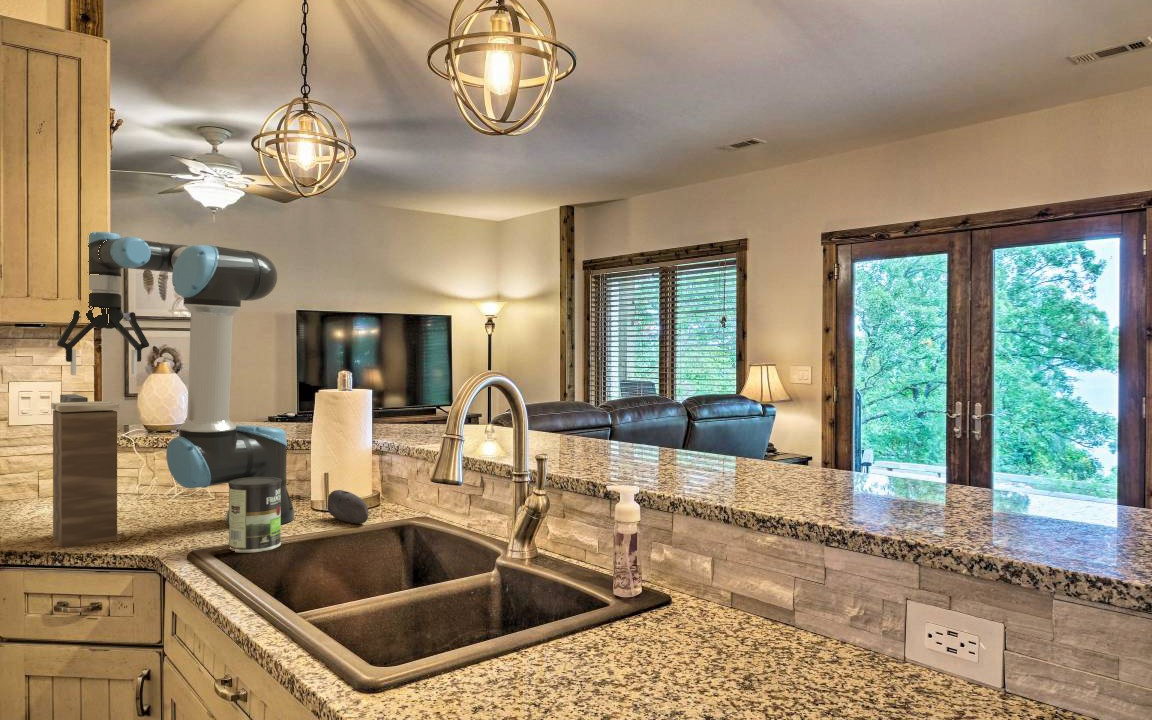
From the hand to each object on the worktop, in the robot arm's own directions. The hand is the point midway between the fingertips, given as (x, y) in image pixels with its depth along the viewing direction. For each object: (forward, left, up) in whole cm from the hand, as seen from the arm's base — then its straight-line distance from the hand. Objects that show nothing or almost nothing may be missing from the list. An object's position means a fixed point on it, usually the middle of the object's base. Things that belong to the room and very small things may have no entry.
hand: (104, 374), depth 196 cm
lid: (-22, +16, -6) cm, 28 cm away
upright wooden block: (-30, +18, -35) cm, 49 cm away
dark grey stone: (-64, -26, -35) cm, 77 cm away
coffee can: (-66, +1, -35) cm, 75 cm away
